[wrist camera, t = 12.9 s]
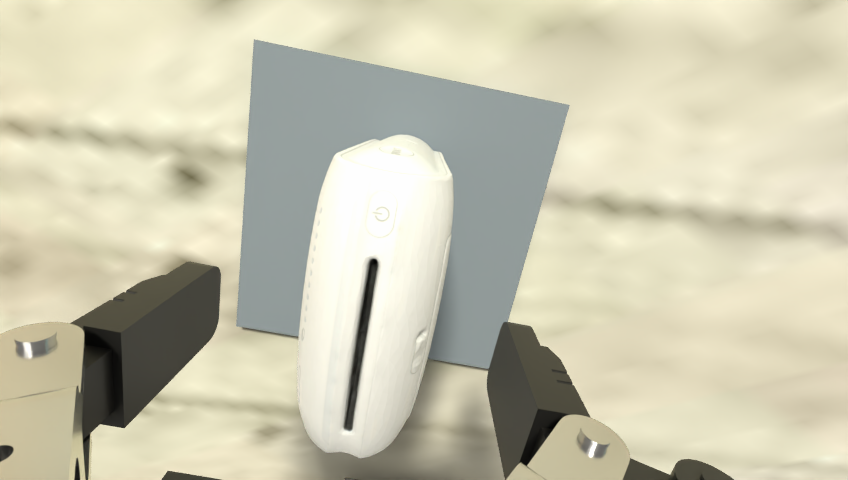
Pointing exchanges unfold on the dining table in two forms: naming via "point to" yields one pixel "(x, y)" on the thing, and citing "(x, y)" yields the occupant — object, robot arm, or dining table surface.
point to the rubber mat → (379, 119)
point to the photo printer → (372, 292)
